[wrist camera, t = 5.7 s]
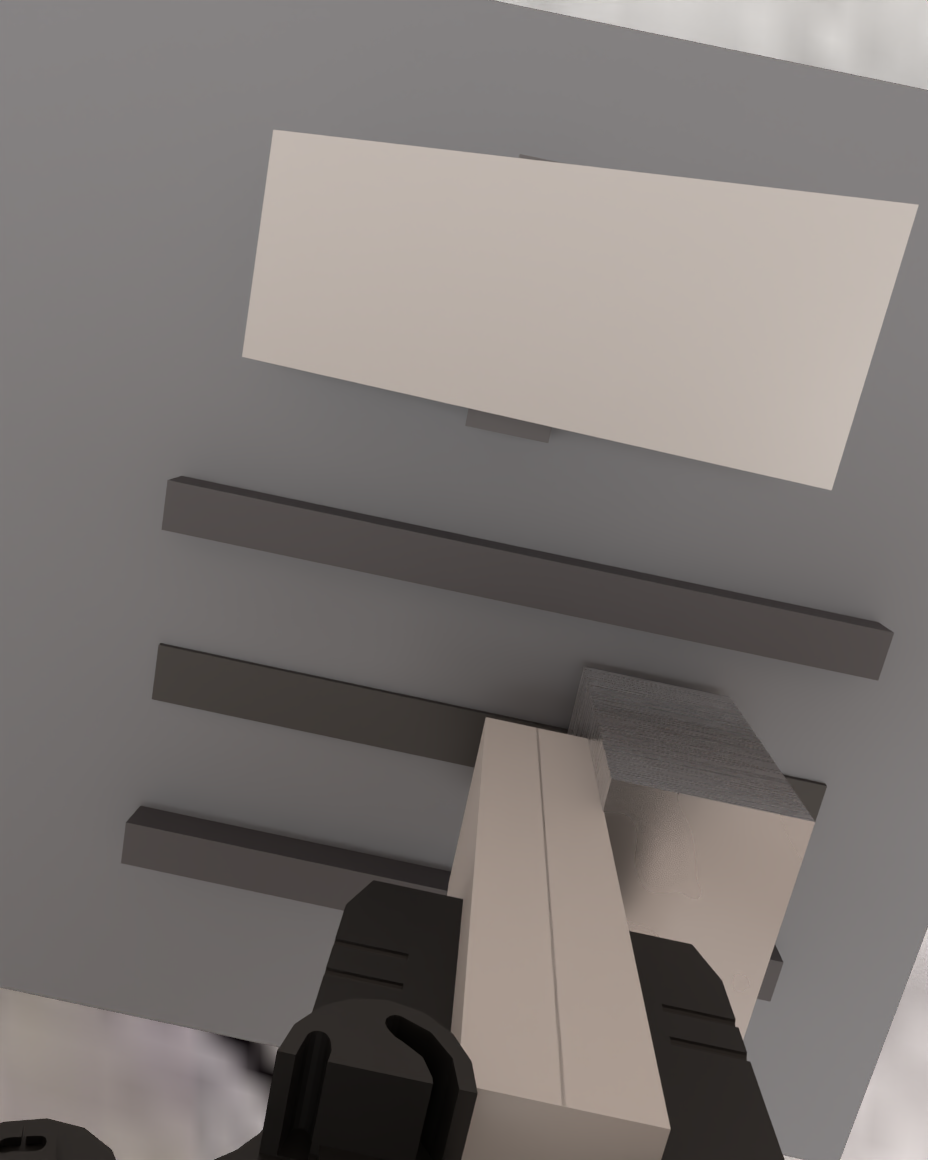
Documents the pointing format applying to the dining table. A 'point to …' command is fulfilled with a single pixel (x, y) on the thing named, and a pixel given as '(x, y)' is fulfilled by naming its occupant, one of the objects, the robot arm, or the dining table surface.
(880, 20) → the dining table surface
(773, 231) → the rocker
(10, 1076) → the dining table surface
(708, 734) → the slider knob
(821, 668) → the console
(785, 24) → the dining table surface
